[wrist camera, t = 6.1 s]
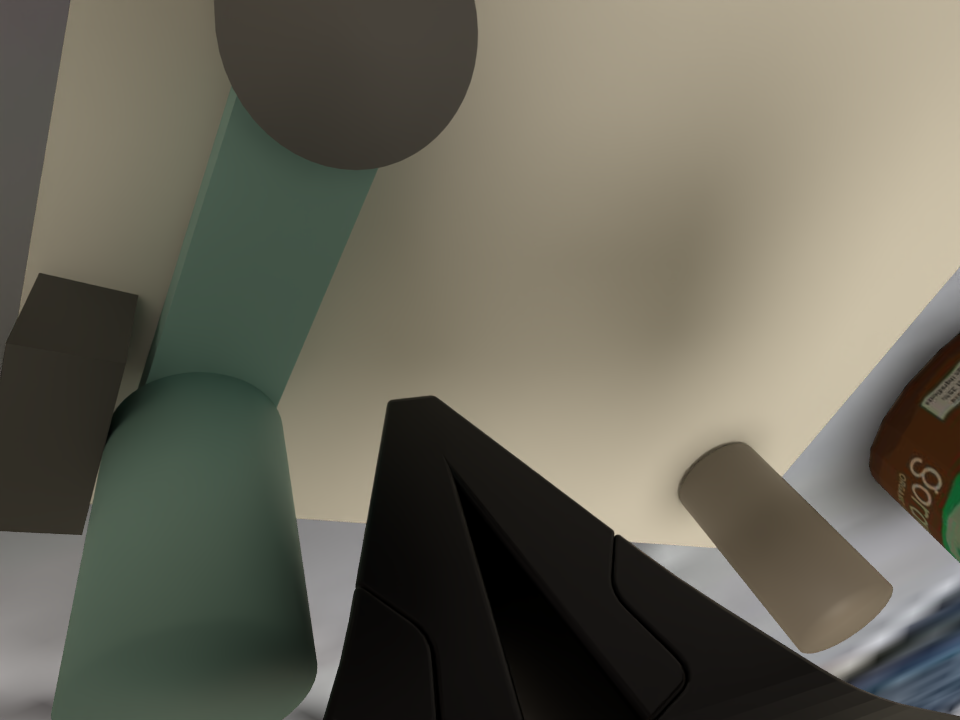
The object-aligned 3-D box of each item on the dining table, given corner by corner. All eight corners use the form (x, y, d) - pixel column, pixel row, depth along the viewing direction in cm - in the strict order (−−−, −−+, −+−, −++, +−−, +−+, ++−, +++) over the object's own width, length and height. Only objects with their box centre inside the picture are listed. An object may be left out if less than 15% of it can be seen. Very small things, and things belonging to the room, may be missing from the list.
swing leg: (257, -180, 7) (326, -311, 3) (478, -33, 8) (727, 17, 4) (84, 441, 10) (4, 780, 6) (263, 465, 11) (291, 749, 7)
